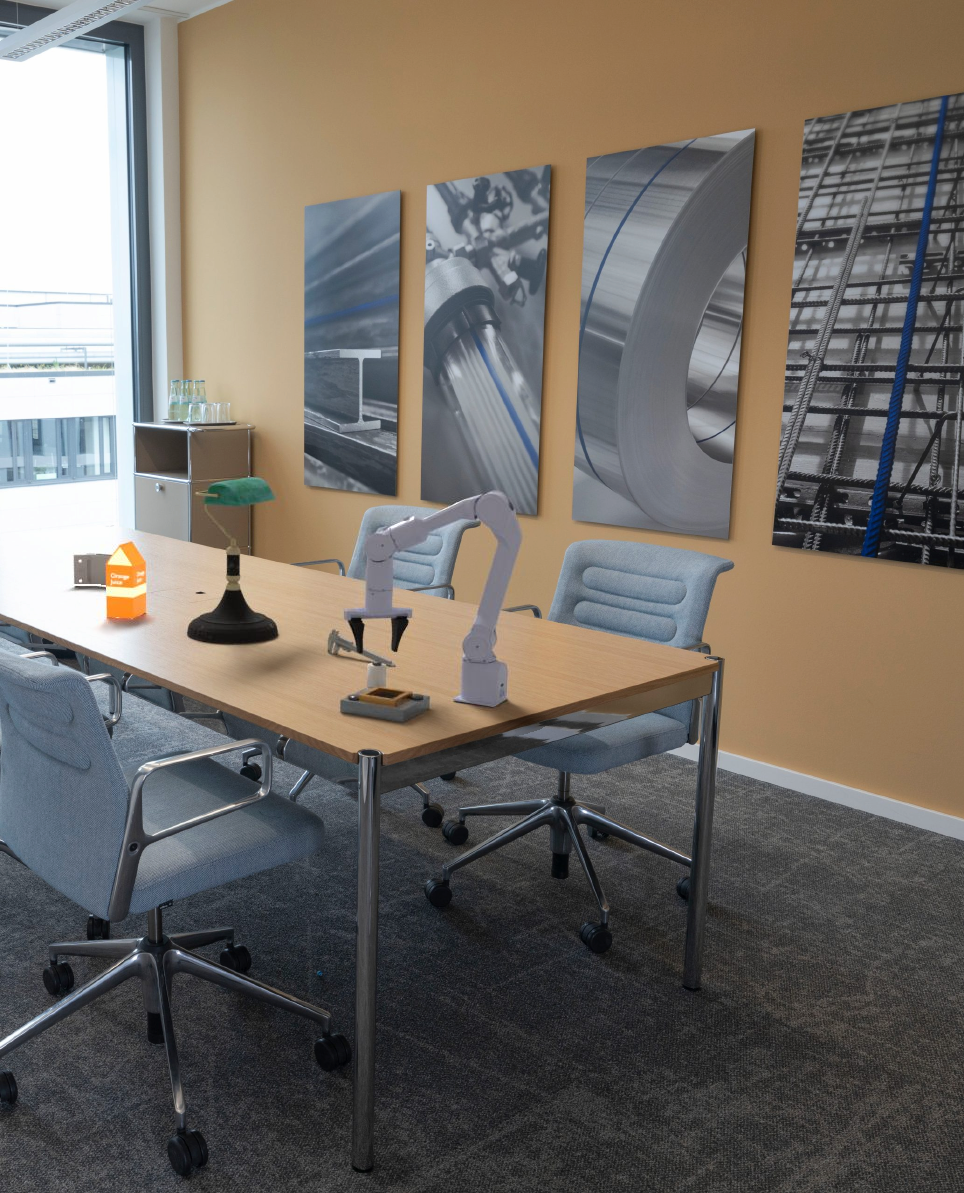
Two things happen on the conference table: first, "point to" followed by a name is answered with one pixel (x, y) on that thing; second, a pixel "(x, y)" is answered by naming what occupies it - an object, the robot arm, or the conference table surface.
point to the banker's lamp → (234, 574)
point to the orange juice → (126, 582)
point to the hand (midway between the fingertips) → (377, 651)
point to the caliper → (352, 648)
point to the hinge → (90, 568)
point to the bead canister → (376, 674)
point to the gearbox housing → (385, 703)
